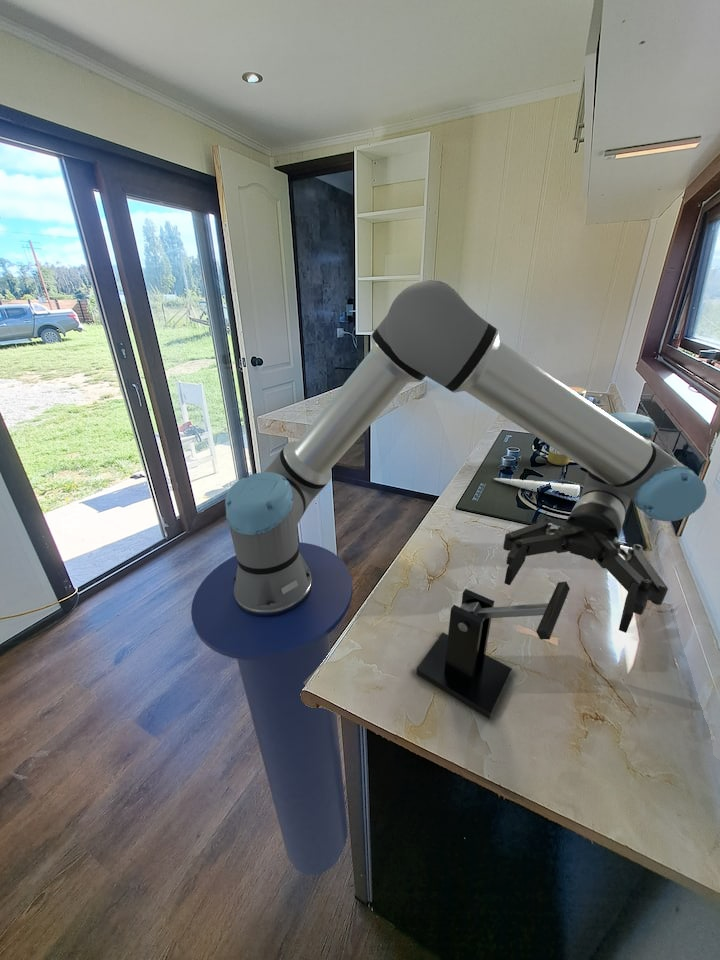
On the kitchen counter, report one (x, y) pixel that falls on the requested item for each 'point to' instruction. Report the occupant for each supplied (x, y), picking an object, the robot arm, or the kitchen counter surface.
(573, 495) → the unicorn horn
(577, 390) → the brown bark cylinder
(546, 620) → the lever
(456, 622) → the bracket
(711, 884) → the kitchen counter surface
